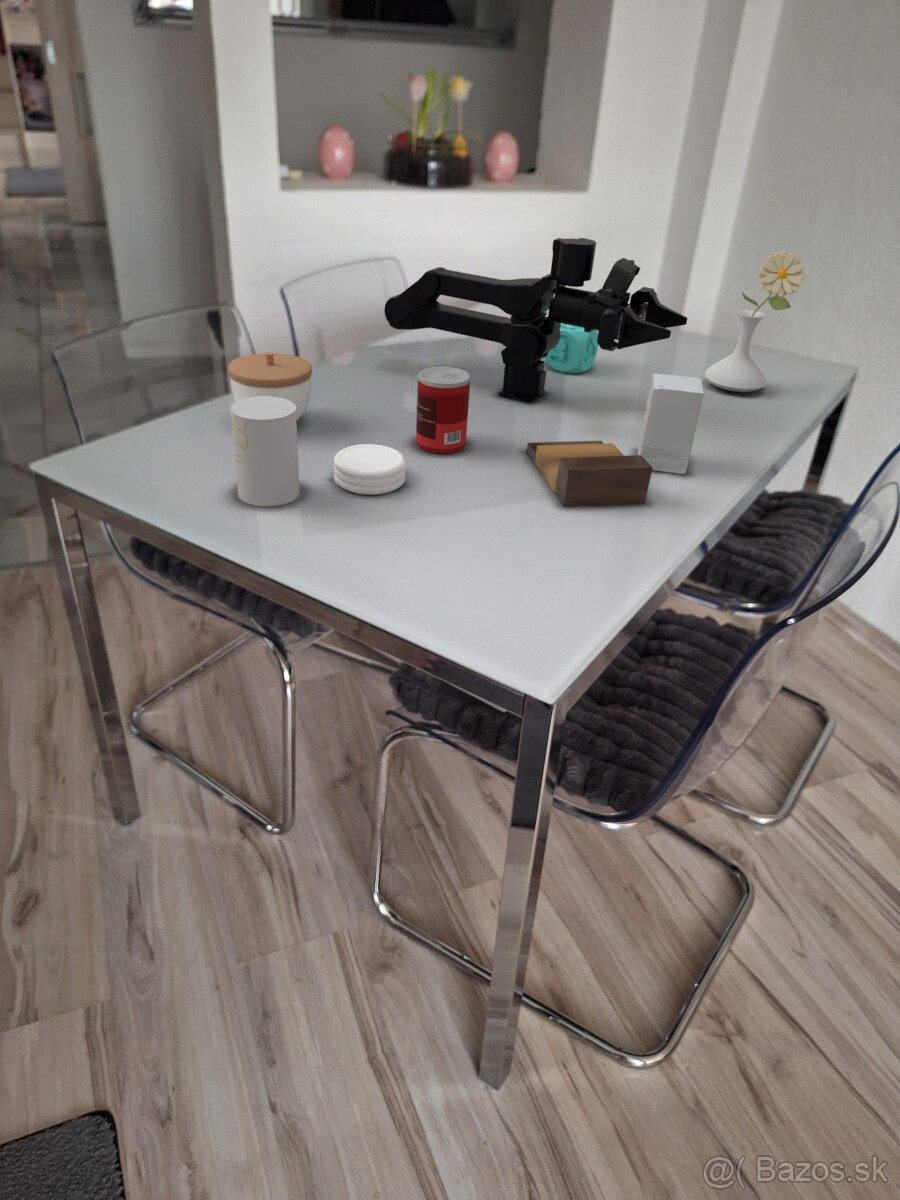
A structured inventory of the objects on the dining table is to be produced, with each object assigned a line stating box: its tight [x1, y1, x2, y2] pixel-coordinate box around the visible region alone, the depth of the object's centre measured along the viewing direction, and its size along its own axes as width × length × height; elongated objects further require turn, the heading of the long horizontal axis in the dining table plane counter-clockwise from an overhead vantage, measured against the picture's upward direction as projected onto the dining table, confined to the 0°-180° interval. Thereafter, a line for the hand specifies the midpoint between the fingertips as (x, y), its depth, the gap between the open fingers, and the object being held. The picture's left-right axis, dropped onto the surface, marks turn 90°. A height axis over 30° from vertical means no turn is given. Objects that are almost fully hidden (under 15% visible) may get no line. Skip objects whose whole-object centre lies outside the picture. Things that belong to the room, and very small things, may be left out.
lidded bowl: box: [227, 351, 313, 422], centre depth 133 cm, size 13×13×11 cm
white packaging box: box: [637, 373, 705, 475], centre depth 128 cm, size 7×7×13 cm
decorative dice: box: [543, 323, 599, 374], centre depth 165 cm, size 8×8×8 cm
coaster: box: [333, 443, 407, 496], centre depth 119 cm, size 10×10×4 cm
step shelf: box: [526, 440, 653, 508], centre depth 124 cm, size 18×12×6 cm, turn 12°
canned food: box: [415, 366, 471, 455], centre depth 129 cm, size 8×8×11 cm
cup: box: [230, 396, 301, 507], centre depth 112 cm, size 8×8×12 cm
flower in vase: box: [704, 249, 806, 393], centre depth 156 cm, size 13×11×25 cm
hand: (678, 327), depth 134 cm, fingers open, 9 cm apart
